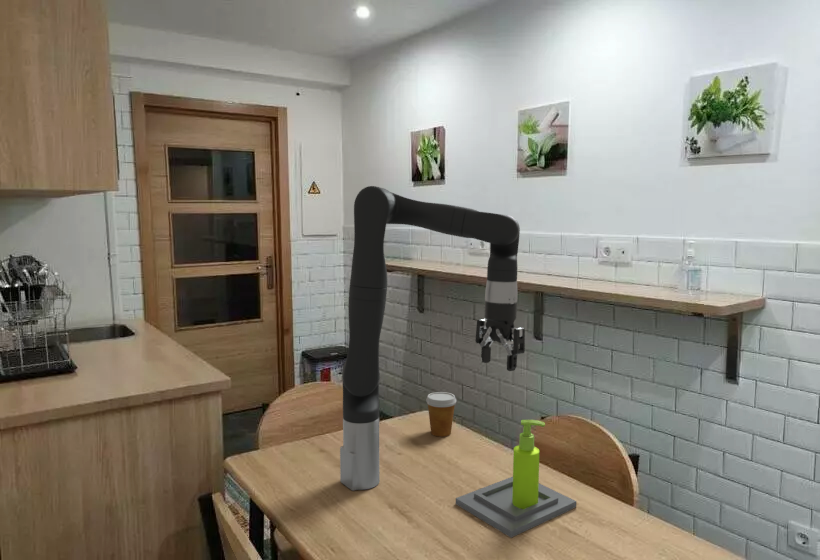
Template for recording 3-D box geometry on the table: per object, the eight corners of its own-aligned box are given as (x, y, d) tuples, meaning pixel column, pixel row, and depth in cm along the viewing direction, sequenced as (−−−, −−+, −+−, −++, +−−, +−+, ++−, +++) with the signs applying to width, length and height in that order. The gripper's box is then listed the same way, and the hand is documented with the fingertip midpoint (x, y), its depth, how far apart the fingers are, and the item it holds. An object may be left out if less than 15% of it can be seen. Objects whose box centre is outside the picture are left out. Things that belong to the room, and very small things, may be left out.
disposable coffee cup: (460, 430, 187) (460, 393, 185) (449, 440, 178) (450, 402, 177) (432, 425, 191) (433, 390, 189) (421, 435, 182) (421, 398, 181)
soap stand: (510, 537, 125) (511, 526, 125) (455, 504, 139) (455, 494, 139) (576, 507, 138) (576, 497, 138) (519, 479, 152) (519, 470, 152)
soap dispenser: (543, 511, 133) (545, 426, 131) (512, 508, 134) (514, 424, 132) (542, 498, 139) (544, 417, 137) (512, 496, 140) (514, 415, 138)
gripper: (469, 296, 142) (466, 361, 144) (511, 304, 130) (508, 375, 132) (491, 294, 146) (489, 358, 148) (534, 302, 135) (531, 371, 137)
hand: (498, 366), depth 140 cm, fingers open, 8 cm apart
